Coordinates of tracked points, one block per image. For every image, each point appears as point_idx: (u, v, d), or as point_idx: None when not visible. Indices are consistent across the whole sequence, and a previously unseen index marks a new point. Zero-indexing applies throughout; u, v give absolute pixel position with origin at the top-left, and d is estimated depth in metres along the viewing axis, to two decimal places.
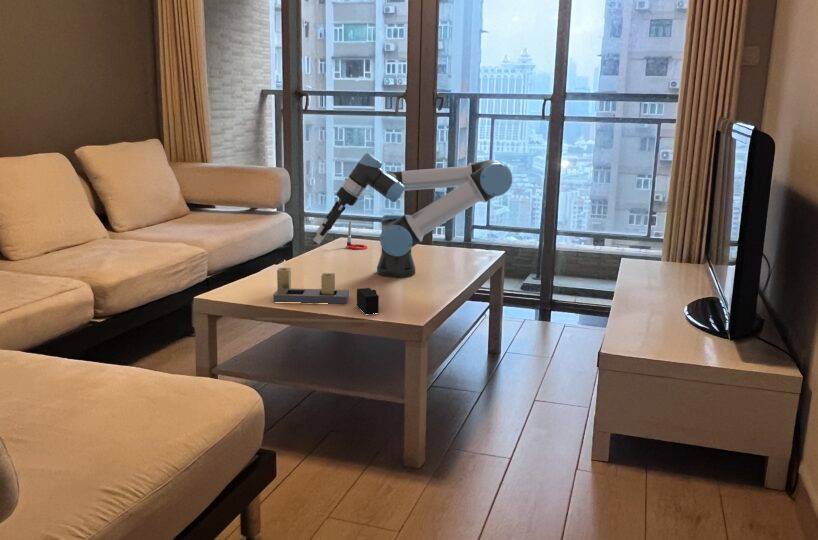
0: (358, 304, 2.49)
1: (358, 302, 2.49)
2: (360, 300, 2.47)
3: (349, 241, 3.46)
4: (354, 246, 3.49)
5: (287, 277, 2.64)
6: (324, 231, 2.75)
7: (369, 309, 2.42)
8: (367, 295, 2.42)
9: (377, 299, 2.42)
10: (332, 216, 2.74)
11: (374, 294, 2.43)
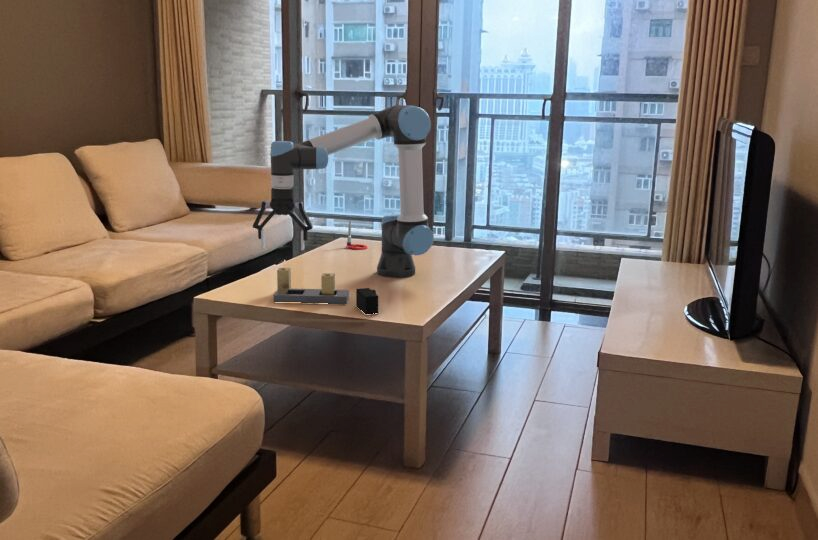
0: (358, 304, 2.49)
1: (358, 302, 2.49)
2: (360, 300, 2.47)
3: (349, 241, 3.46)
4: (354, 246, 3.49)
5: (287, 277, 2.64)
6: None
7: (368, 309, 2.42)
8: (367, 295, 2.42)
9: (377, 299, 2.42)
10: (306, 217, 2.60)
11: (374, 294, 2.43)
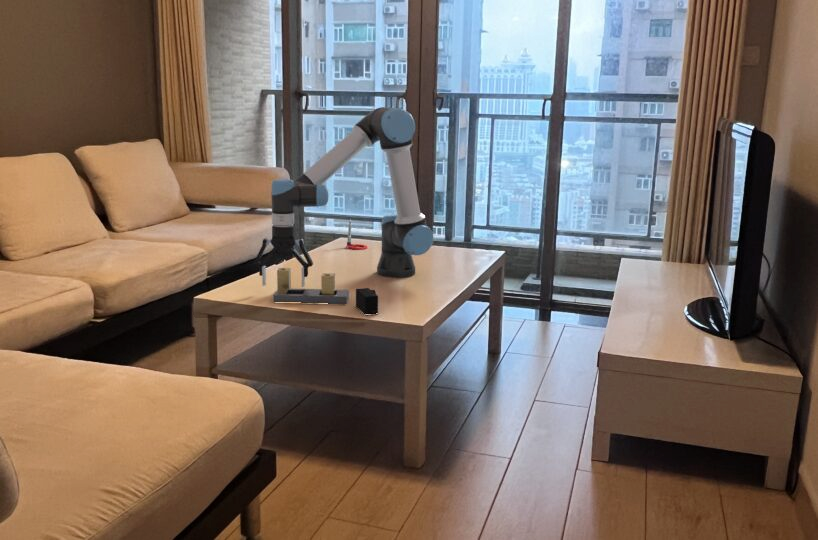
0: (357, 304, 2.49)
1: (357, 302, 2.49)
2: (359, 300, 2.46)
3: (349, 241, 3.46)
4: (354, 245, 3.49)
5: (287, 277, 2.64)
6: (307, 271, 2.65)
7: (368, 309, 2.41)
8: (366, 295, 2.42)
9: (376, 299, 2.42)
10: (307, 254, 2.63)
11: (373, 294, 2.43)
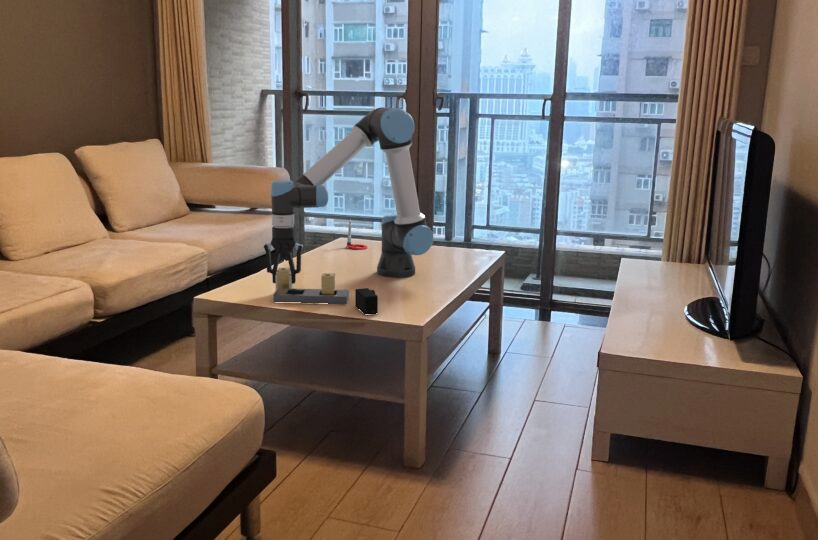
0: (357, 304, 2.49)
1: (357, 302, 2.48)
2: (359, 300, 2.46)
3: (349, 241, 3.46)
4: (354, 245, 3.49)
5: (287, 277, 2.64)
6: (295, 277, 2.66)
7: (368, 309, 2.41)
8: (366, 295, 2.41)
9: (376, 299, 2.42)
10: (300, 260, 2.64)
11: (373, 294, 2.43)
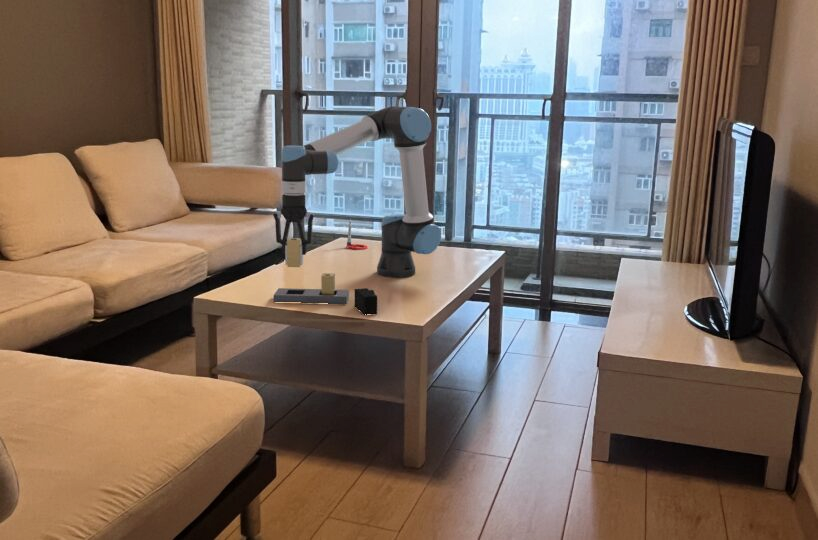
0: (356, 304, 2.49)
1: (356, 303, 2.48)
2: (358, 300, 2.46)
3: (349, 241, 3.46)
4: (354, 246, 3.49)
5: (297, 247, 2.51)
6: None
7: (367, 309, 2.41)
8: (366, 295, 2.41)
9: (376, 299, 2.42)
10: (311, 230, 2.51)
11: (372, 294, 2.43)
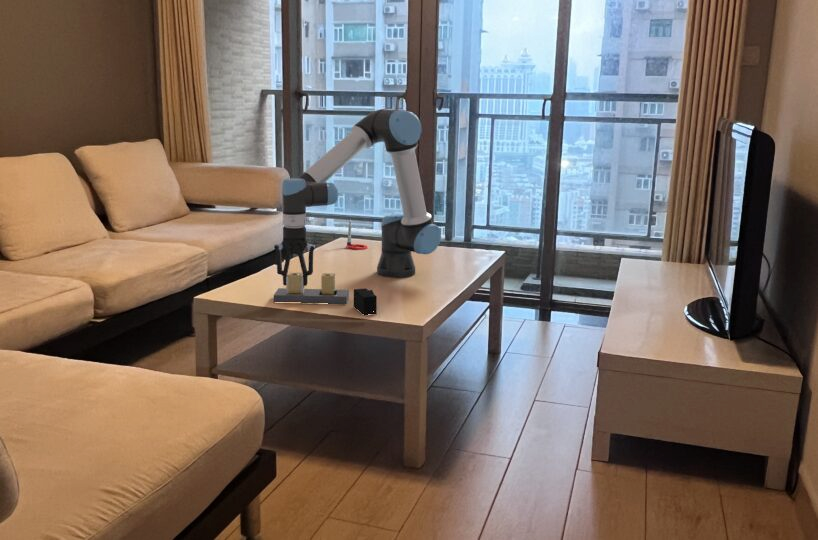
0: (355, 305, 2.48)
1: (355, 303, 2.48)
2: (357, 301, 2.46)
3: (349, 241, 3.46)
4: (354, 246, 3.49)
5: (299, 282, 2.54)
6: None
7: (367, 309, 2.41)
8: (365, 296, 2.41)
9: (375, 299, 2.41)
10: (312, 262, 2.54)
11: (372, 294, 2.42)
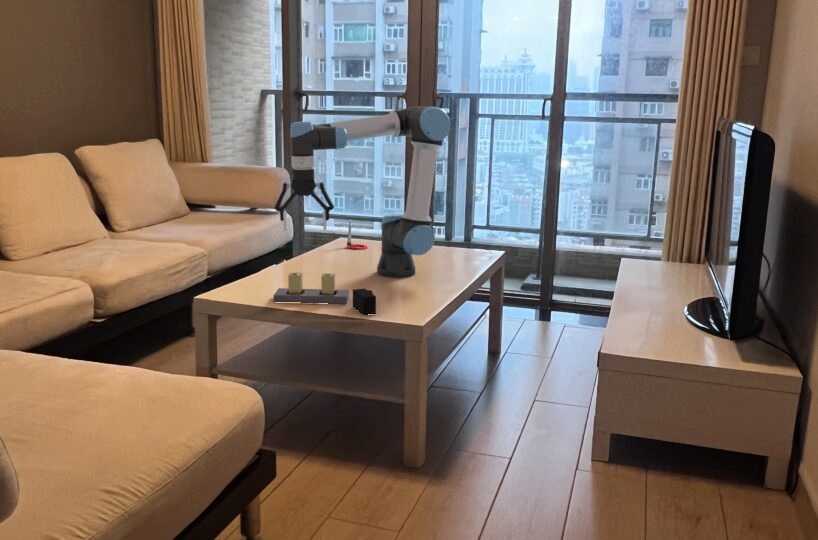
0: (354, 305, 2.48)
1: (354, 303, 2.48)
2: (357, 301, 2.46)
3: (349, 241, 3.46)
4: (354, 245, 3.49)
5: (299, 282, 2.54)
6: None
7: (366, 310, 2.41)
8: (364, 296, 2.41)
9: (374, 300, 2.41)
10: (328, 197, 2.61)
11: (371, 295, 2.42)
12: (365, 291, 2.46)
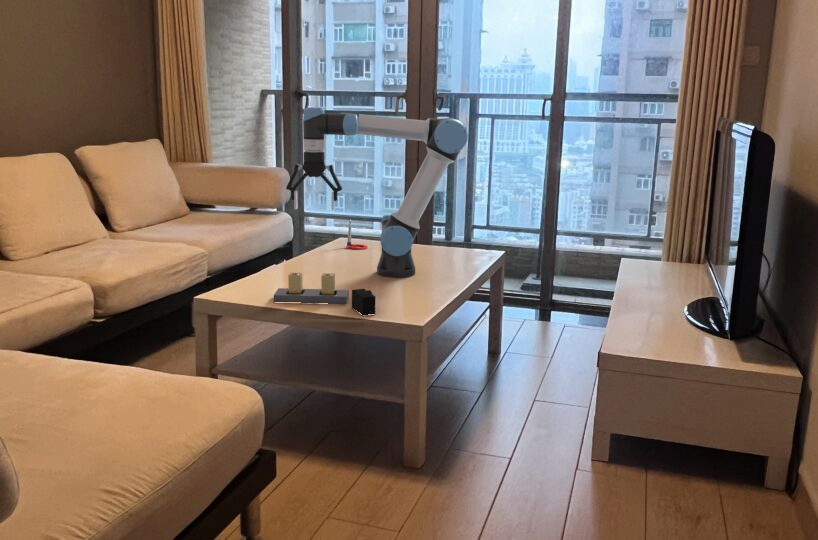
0: (353, 305, 2.48)
1: (354, 303, 2.48)
2: (356, 301, 2.45)
3: (349, 241, 3.46)
4: (354, 245, 3.49)
5: (299, 282, 2.54)
6: None
7: (366, 310, 2.41)
8: (364, 296, 2.41)
9: (374, 300, 2.41)
10: (337, 178, 2.78)
11: (370, 295, 2.42)
12: (364, 291, 2.46)
